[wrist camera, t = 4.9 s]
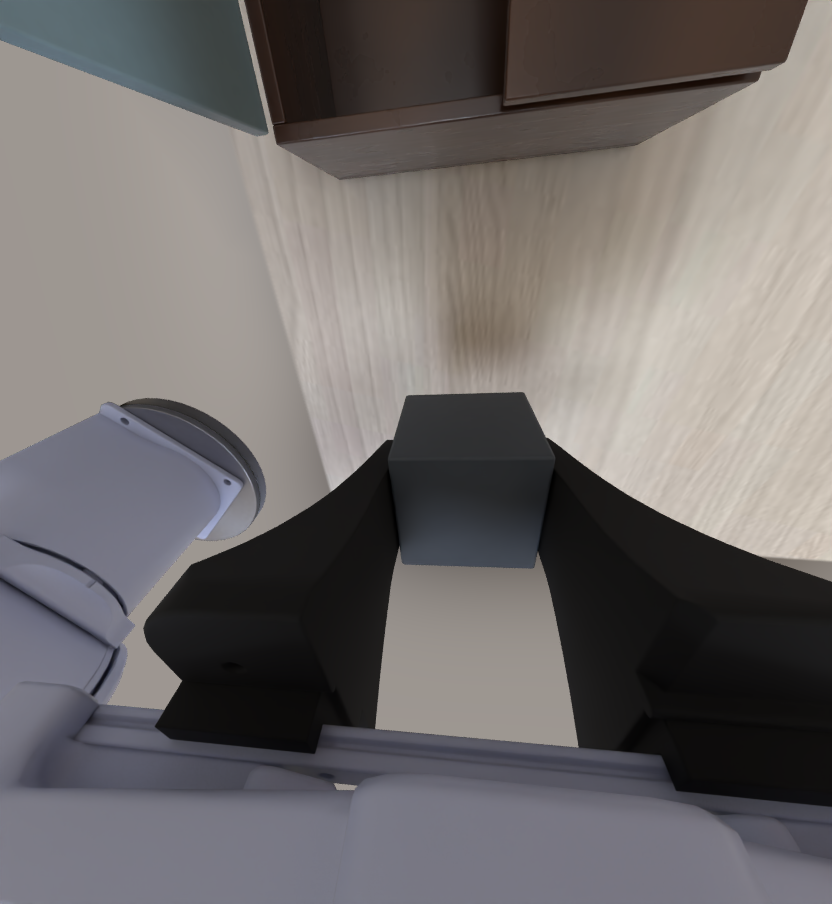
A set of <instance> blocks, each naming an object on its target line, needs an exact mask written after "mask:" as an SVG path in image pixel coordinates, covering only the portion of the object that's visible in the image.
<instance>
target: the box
mask: <svg viewBox="0 0 832 904" xmlns="http://www.w3.org/2000/svg"><path fill="white" fill-rule="evenodd" d="M244 1H245V6H246V10H247V15H248V19H249V23H250V28H251V32H252V37H253V41H254V46H255V50H256V54H257V59H258V63H259V68H260V72H261V77H262V81H263V85H264V90H265V94H266V99H267V103H268V108H269V112H270V116H271V121H272V124H273V125H274V126H273V130H274V134H275V139H276V143H277V145H279V146H280V147H282V148H284V149H286V150H288V151H289V152H291V153H293V154H295V155H296V156H298V157H300V158H302V159H304V160H305V161H307V162H309V163H311V164H312V165H314V166H316V167H318V168H320V169H321V170H323V171H325V172H327V173H329V174H330V175H332V176H334V177H336V178H337V179H339V180H341V179H349V178H358V177H366V176H375V175H384V174H392V173H401V172H409V171H418V170H426V169H435V168H444V167H452V166H461V165H469V164H478V163H486V162H495V161H504V160H512V159H521V158H529V157H538V156H546V155H555V154H564V153H572V152H581V151H589V150H598V149H606V148H615V147H624V146H632V145H637V144H639V143H641V142H643V141H645V140H647V139H649V138H651V137H652V136H654V135H656V134H658V133H660V132H662V131H664V130H666V129H668V128H669V127H671V126H673V125H675V124H677V123H679V122H681V121H683V120H685V119H687V118H688V117H690V116H692V115H694V114H696V113H698V112H700V111H702V110H704V109H706V108H707V107H709V106H711V105H713V104H715V103H717V102H719V101H721V100H723V99H724V98H726V97H728V96H730V95H732V94H734V93H736V92H738V91H740V90H742V89H743V88H745V87H747V86H749V85H751V84H753V83H755V82H757V81H758V80H759V78H760V75H761V72H762V71H767V70H771V69H773V68H775V67H777V66H779V65H781V64H782V63H784V62H785V61H786V60H787V57H788V54H789V52H790V49H791V46H792V43H793V40H794V38H795V35H796V32H797V29H798V27H799V24H800V21H801V18H802V15H803V13H804V10H805V7H806V4H807V1H808V0H244Z"/></svg>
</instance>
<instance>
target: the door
mask: <svg viewBox="0 0 832 904" xmlns="http://www.w3.org/2000/svg"><path fill="white" fill-rule="evenodd" d="M0 40H1V41H4V42H7V43H9V44H12V45H15V46H17V47H20V48H23V49H25V50H28V51H31V52H33V53H36V54H39V55H41V56H44V57H47V58H49V59H52V60H55V61H57V62H60V63H63V64H65V65H68V66H71V67H73V68H76V69H79V70H81V71H84V72H87V73H89V74H92V75H95V76H97V77H100V78H103V79H105V80H108V81H111V82H113V83H116V84H119V85H121V86H124V87H127V88H129V89H132V90H135V91H137V92H140V93H143V94H145V95H148V96H151V97H153V98H156V99H158V100H161V101H164V102H167V103H169V104H172V105H174V106H177V107H180V108H182V109H185V110H188V111H190V112H193V113H196V114H199V115H201V116H204V117H206V118H209V119H212V120H214V121H217V122H220V123H222V124H225V125H228V126H230V127H233V128H236V129H238V130H241V131H244V132H246V133H249V134H252V135H254V136H262V135H267V134H268V128H267V124H266V119H265V115H264V111H263V106H262V102H261V98H260V94H259V89H258V85H257V81H256V76H255V72H254V68H253V63H252V59H251V55H250V50H249V46H248V42H247V38H246V33H245V29H244V25H243V20H242V16H241V12H240V7H239V3H238V0H0Z"/></svg>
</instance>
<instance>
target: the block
mask: <svg viewBox="0 0 832 904" xmlns="http://www.w3.org/2000/svg"><path fill="white" fill-rule="evenodd" d="M554 464H555V456H554V454H553V452H552V449H551V447H550V445H549V443H548V441H547V439H546V437H545V435H544V433H543V431H542V429H541V427H540V425H539V422H538V420H537V418H536V416H535V414H534V412H533V410H532V408H531V406H530V404H529V402H528V400H527V398H526V395H525V393H523V392H512V393H477V394H441V395H408V396H406V399H405V402H404V406H403V409H402V413H401V416H400V419H399V423H398V426H397V430H396V433H395V436H394V440H393V443H392V447H391V450H390V453H389V457H388V466H389V473H390V480H391V487H392V494H393V502H394V509H395V516H396V523H397V531H398V538H399V545H400V552H401V559H402V563H403V564H407V565H408V564H409V565H438V566H469V567H503V568H534V566H535V562H536V557H537V552H538V546H539V541H540V536H541V531H542V526H543V521H544V516H545V510H546V505H547V500H548V495H549V490H550V485H551V480H552V474H553V469H554Z"/></svg>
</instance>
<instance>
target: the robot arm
mask: <svg viewBox="0 0 832 904" xmlns="http://www.w3.org/2000/svg"><path fill="white" fill-rule="evenodd" d="M546 439H547V441H548V443H549V445H550V447H551V449H552V452H553V454H554V456H555V464H554V469H553V474H552V480H551V485H550V490H549V495H548V500H547V505H546V510H545V516H544V521H543V526H542V531H541V536H540V541H539V546H538V552H539V556H540V559H541V562H542V565H543V568H544V571H545V574H546V578H547V581H548V585H549V588H550V593H551V597H552V602H553V607H554V611H555V616H556V621H557V626H558V631H559V636H560V641H561V646H562V651H563V657H564V662H565V668H566V673H567V679H568V684H569V689H570V696H571V702H572V708H573V714H574V720H575V727H576V733H577V739H578V746H579V748H576V747H565V746H555V745H554V746H553V745H543V744H532V743H522V742H510V741H500V740H488V739H478V738H467V737H456V736H444V735H434V734H423V733H412V732H411V733H410V732H401V731H390V730H379V729H375V724H376V712H377V702H378V691H379V681H380V670H381V662H382V652H383V644H384V634H385V627H386V618H387V610H388V603H389V595H390V586H391V581H392V575H393V570H394V566H395V562H396V557H397V553H398V549H399V538H398V531H397V523H396V516H395V509H394V502H393V494H392V487H391V480H390V473H389V466H388V457H389V453H390V450H391V447H392V443H393V440H386V441H385V442H384V443H383V444H382V445H381V446H380V447H379V448H378V449H377V450H376V451H375V453H374V454H373V455H372V456H371V457H370V458H369V459H368V460H367V461H366V462H365V463H364V464H363V465H362V466H360V467H359V468H358V469H357V470H356V471H355V472H354V473H353V474H352V475H351V476H350V477H348V478H347V479H346V480H345V481H344V482H343V483H342V484H340V485H339V486H338V487H337V488H336V489H334V490H333V491H332V492H330V493H329V494H328V495H326V496H325V497H324V498H322V499H321V500H319V501H318V502H317V503H315V504H314V505H312V506H311V507H309V508H308V509H306V510H304V511H303V512H301V513H299V514H298V515H296V516H294V517H293V518H291V519H289V520H288V521H286V522H284V523H282V524H281V525H279V526H278V527H275V528H273V529H271V530H269V531H267V532H266V533H264V534H262V535H259V536H257V537H255V538H253V539H251V540H249V541H247V542H245V543H243V544H240V545H238V546H236V547H234V548H231V549H229V550H226V551H224V552H221V553H219V554H217V555H214V556H212V557H210V558H207V559H205V560H202V561H200V562H197V563H194V564H192V565H191V566H190V567H189V568H188V569H187V570H186V572H185V573H184V574H183V575H182V576H181V578H180V579H179V580H178V582H177V583H176V584H175V585H174V587H173V588H172V589H171V590H170V591H169V593H168V594H167V595H166V596H165V597H164V599H163V600H162V601H161V603H160V604H159V605H158V606H157V608H156V609H155V610H154V611H153V612H152V614H151V615H150V616H149V617H148V619H147V620H146V622H145V625H144V628H143V629H144V634H145V638H146V641H147V643H148V644H149V646H150V647H151V648H152V650H153V651H154V652H155V653H156V654H157V655H158V656H159V657H160V658H161V659H162V660H163V661H164V662H165V663H166V664H167V665H168V666H169V668H170V669H171V670H172V671H174V673H175V674H176V675H177V676H178V677H179V678H180V679H181V680H182V682H181V684H180V686H179V688H178V689H177V691H176V692H175V694H174V695H173V697H172V699H171V700H170V702H169V704H168V705H167V707H166V709H165V710H159V709H149V708H137V707H127V706H116V705H107V703H108V702H109V700H110V698H111V697H112V695H113V694H114V692H115V690H116V688H117V686H118V684H119V682H120V679H121V677H122V674H123V670H124V667H125V664H126V659H127V648H126V647H125V645H124V644H123V643H122V642H123V640H124V639H125V638H126V637H127V636H128V634H129V633H130V632H131V631H132V629H133V628H134V627H135V624H134V623H132V622H131V621H130V620H129V619H128V618H127V617H128V616H129V615H130V613H131V612H132V611H133V610H134V609H135V607H136V606H137V605H138V604H139V603H140V602H141V600H142V599H143V598H144V597H145V596H146V595H147V594H148V592H149V591H150V590H151V589H152V588H153V587H154V585H155V584H156V583H157V582H158V581H159V580H160V578H161V577H162V576H163V575H164V574H165V573H166V571H167V570H168V569H169V568H170V567H171V566H172V565H173V564H174V562H175V561H176V560H177V559H178V558H179V557H180V555H181V554H182V553H183V552H184V551H185V550H186V549H187V547H188V546H189V545H190V544H191V543H192V542H193V540H194V539H195V538H196V537H198V538H200V539H206V538H207V537H208V536H209V534H210V533H211V531H212V530H213V529H214V527H215V526H216V524H217V523H218V522H219V520H220V519H221V517H222V516H223V515H224V513H225V512H226V510H227V509H228V508H229V506H230V505H231V503H232V502H233V500H234V499H235V498H236V496H237V495H238V493H239V492H240V491H241V489H242V488H243V486H244V485H243V482H242V481H241V480H240V479H238V478H237V477H235V476H233V475H232V474H230V473H228V472H227V471H225V470H224V469H222V468H220V467H219V466H217V465H215V464H214V463H212V462H210V461H209V460H207V459H205V458H204V457H202V456H200V455H199V454H197V453H195V452H194V451H192V450H191V449H189V448H187V447H186V446H184V445H182V444H181V443H179V442H177V441H176V440H174V439H172V438H171V437H169V436H167V435H166V434H164V433H163V432H161V431H159V430H158V429H156V428H154V427H153V426H151V425H149V424H148V423H146V422H144V421H143V420H141V419H139V418H138V417H136V416H134V415H133V414H131V413H130V412H128V411H126V410H125V409H123V408H121V407H120V406H118V405H116V404H114V403H112V402H107V403H104V404H102V405H101V408H100V411H99V413H98V414H96V415H94V416H92V417H90V418H87V419H85V420H83V421H81V422H79V423H77V424H75V425H73V426H71V427H69V428H67V429H65V430H63V431H61V432H58V433H57V434H54V435H53V436H50V437H48V438H46V439H44V440H42V441H40V442H38V443H36V444H34V445H32V446H30V447H27V448H25V449H23V450H21V451H19V452H17V453H15V454H13V455H11V456H9V457H7V458H5V459H3V460H1V461H0V904H832V582H831V581H828V580H825V579H822V578H819V577H816V576H813V575H810V574H808V573H805V572H802V571H798V570H796V569H793V568H790V567H787V566H784V565H781V564H778V563H775V562H773V561H769V560H767V559H764V558H762V557H759V556H757V555H754V554H752V553H749V552H747V551H744V550H741V549H739V548H736V547H734V546H731V545H729V544H726V543H724V542H722V541H719V540H717V539H715V538H712V537H710V536H708V535H705V534H703V533H701V532H699V531H696V530H694V529H692V528H690V527H688V526H686V525H684V524H681V523H679V522H677V521H675V520H673V519H671V518H669V517H667V516H665V515H663V514H661V513H659V512H657V511H655V510H654V509H652V508H650V507H648V506H646V505H645V504H643V503H641V502H639V501H637V500H636V499H634V498H632V497H630V496H629V495H627V494H625V493H624V492H622V491H621V490H619V489H617V488H616V487H614V486H613V485H611V484H610V483H608V482H607V481H605V480H604V479H602V478H601V477H599V476H598V475H597V474H595V473H594V472H592V471H591V470H590V469H588V468H587V467H586V466H584V465H583V464H581V463H580V462H579V461H578V460H576V459H575V458H574V457H572V456H571V455H570V454H568V453H567V452H566V451H565V450H563V449H562V448H561V447H560V446H558V445H557V444H556V443H554V442H553V441H552V440H550V439H549V438H546ZM228 480H229V481H228ZM334 783H339V784H348V785H357V787H356V788H355V790H336V787H335V785H334Z"/></svg>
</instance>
